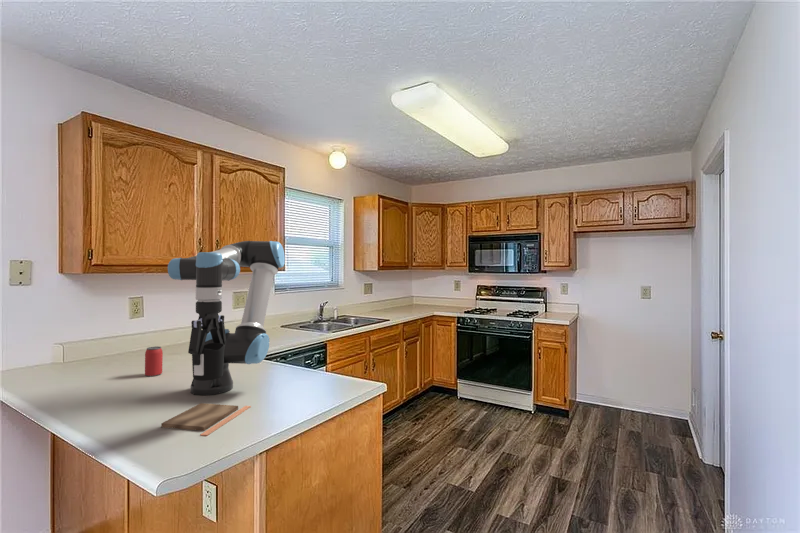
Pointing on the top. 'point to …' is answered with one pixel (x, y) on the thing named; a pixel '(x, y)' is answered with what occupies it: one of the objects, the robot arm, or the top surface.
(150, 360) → the beer can
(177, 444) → the top surface
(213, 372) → the pen holder
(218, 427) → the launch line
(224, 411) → the board
